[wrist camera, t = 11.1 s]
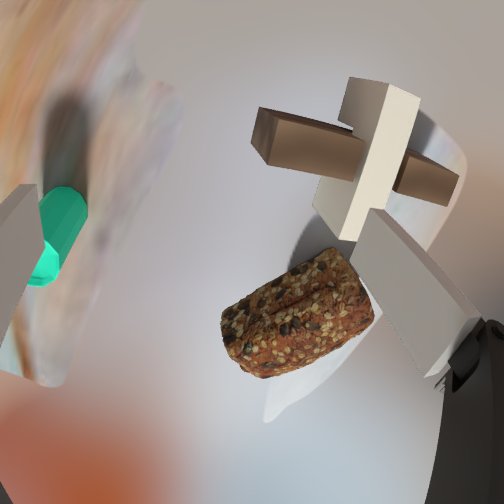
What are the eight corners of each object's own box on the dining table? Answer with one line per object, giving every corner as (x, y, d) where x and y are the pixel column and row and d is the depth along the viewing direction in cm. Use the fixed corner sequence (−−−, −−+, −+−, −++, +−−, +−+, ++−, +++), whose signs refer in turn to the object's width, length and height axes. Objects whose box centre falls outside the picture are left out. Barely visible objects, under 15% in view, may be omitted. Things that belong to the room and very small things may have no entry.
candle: (51, 236, 34) (14, 300, 24) (37, 191, 30) (-12, 246, 20) (93, 228, 34) (64, 294, 24) (80, 181, 31) (39, 235, 21)
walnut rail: (258, 106, 31) (279, 119, 24) (419, 153, 36) (459, 175, 30) (250, 142, 33) (267, 165, 26) (409, 180, 38) (446, 206, 32)
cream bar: (349, 76, 30) (389, 83, 23) (378, 88, 31) (421, 98, 24) (311, 205, 38) (338, 239, 31) (340, 210, 39) (370, 243, 32)
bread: (333, 238, 41) (366, 285, 33) (356, 287, 47) (386, 333, 39) (214, 308, 44) (222, 364, 36) (252, 346, 50) (265, 397, 42)
